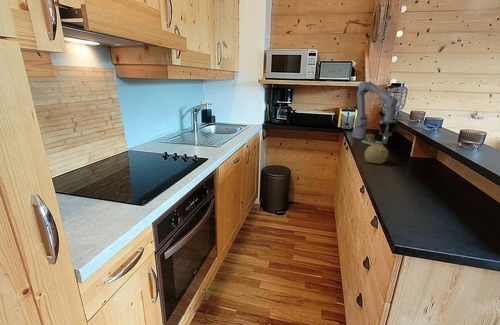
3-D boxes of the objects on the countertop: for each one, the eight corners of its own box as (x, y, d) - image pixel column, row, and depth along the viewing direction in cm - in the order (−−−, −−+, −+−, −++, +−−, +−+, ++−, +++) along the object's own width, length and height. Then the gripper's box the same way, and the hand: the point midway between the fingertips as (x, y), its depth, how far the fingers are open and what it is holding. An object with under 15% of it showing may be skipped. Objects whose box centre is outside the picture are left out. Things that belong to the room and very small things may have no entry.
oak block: (365, 142, 196) (366, 134, 195) (369, 141, 198) (370, 133, 196) (369, 143, 193) (370, 135, 191) (373, 142, 194) (374, 134, 193)
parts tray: (361, 142, 197) (361, 140, 196) (370, 141, 200) (370, 139, 200) (374, 145, 186) (374, 143, 186) (383, 144, 190) (383, 142, 189)
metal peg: (380, 143, 196) (382, 135, 194) (384, 142, 197) (385, 134, 195) (384, 144, 193) (386, 136, 191) (388, 143, 194) (389, 135, 192)
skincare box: (378, 134, 227) (381, 116, 223) (385, 134, 229) (388, 116, 225) (386, 136, 220) (389, 117, 215) (392, 136, 222) (396, 117, 217)
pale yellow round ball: (389, 166, 142) (392, 147, 139) (365, 164, 144) (368, 145, 141) (383, 160, 153) (386, 142, 149) (361, 158, 155) (364, 141, 151)
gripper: (386, 115, 182) (383, 134, 186) (401, 114, 188) (397, 133, 192) (378, 114, 188) (375, 132, 192) (392, 113, 194) (389, 131, 198)
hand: (386, 133), depth 192 cm, fingers open, 7 cm apart
